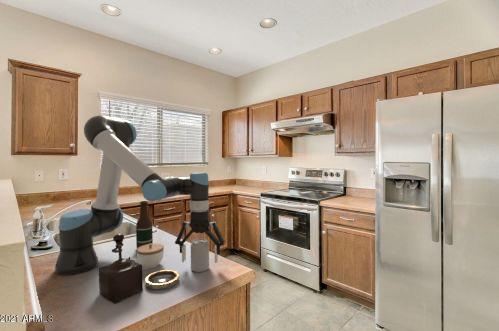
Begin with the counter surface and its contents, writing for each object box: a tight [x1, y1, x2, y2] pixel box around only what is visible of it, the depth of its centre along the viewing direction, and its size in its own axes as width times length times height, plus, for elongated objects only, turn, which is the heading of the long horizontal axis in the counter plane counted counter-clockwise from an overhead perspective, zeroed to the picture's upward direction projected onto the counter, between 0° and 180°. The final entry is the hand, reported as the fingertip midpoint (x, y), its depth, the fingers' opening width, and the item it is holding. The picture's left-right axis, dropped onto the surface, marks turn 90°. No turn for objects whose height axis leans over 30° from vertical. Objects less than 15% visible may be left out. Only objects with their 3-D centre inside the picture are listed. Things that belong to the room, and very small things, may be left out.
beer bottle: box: [135, 200, 154, 250], centre depth 131 cm, size 8×8×24 cm
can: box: [190, 238, 210, 273], centre depth 108 cm, size 8×8×12 cm
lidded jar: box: [136, 243, 165, 269], centre depth 112 cm, size 11×11×9 cm
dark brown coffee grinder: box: [97, 233, 144, 305], centre depth 91 cm, size 16×11×18 cm
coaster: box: [145, 269, 180, 291], centre depth 97 cm, size 12×12×2 cm
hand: (200, 261), depth 108 cm, fingers open, 13 cm apart
